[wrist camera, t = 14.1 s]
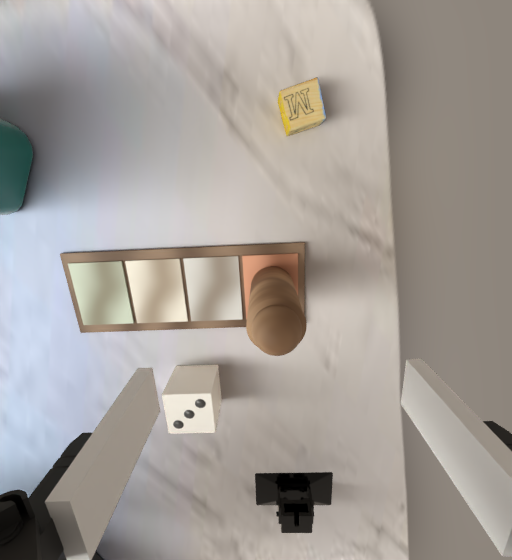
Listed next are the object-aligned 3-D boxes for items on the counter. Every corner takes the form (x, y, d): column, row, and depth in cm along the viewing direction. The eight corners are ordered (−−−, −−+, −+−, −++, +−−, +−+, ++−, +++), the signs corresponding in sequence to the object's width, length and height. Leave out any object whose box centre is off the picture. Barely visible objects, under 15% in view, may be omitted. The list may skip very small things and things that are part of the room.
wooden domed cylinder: (251, 306, 30) (246, 372, 19) (249, 266, 29) (242, 312, 18) (293, 305, 30) (311, 370, 19) (293, 265, 28) (312, 310, 18)
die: (181, 400, 35) (168, 433, 30) (176, 365, 33) (161, 394, 28) (221, 399, 34) (215, 432, 30) (218, 364, 33) (210, 393, 28)
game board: (82, 330, 32) (79, 333, 31) (62, 253, 29) (58, 254, 29) (303, 323, 31) (304, 325, 30) (304, 242, 28) (304, 243, 28)
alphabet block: (319, 126, 25) (327, 118, 22) (286, 138, 26) (289, 131, 23) (311, 88, 24) (318, 75, 21) (277, 101, 25) (279, 89, 22)
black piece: (341, 464, 38) (352, 502, 33) (338, 505, 40) (348, 546, 35) (244, 465, 38) (241, 502, 34) (247, 505, 41) (244, 546, 36)
